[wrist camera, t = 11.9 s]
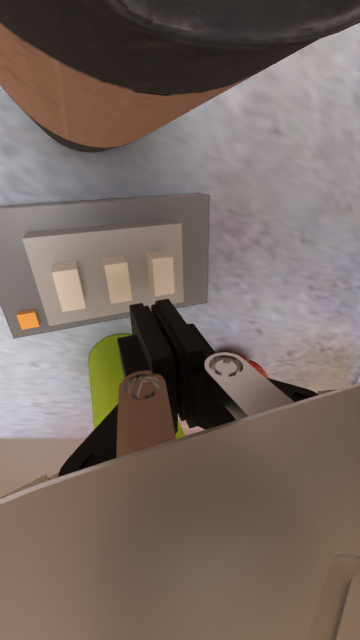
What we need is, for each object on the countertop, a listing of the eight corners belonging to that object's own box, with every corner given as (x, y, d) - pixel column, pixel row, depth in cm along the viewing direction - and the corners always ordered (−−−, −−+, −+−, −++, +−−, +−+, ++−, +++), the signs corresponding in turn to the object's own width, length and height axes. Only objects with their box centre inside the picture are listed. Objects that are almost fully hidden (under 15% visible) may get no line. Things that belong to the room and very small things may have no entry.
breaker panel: (199, 193, 22) (234, 198, 17) (198, 294, 27) (227, 321, 22) (-27, 207, 18) (-63, 220, 13) (17, 326, 22) (3, 368, 17)
